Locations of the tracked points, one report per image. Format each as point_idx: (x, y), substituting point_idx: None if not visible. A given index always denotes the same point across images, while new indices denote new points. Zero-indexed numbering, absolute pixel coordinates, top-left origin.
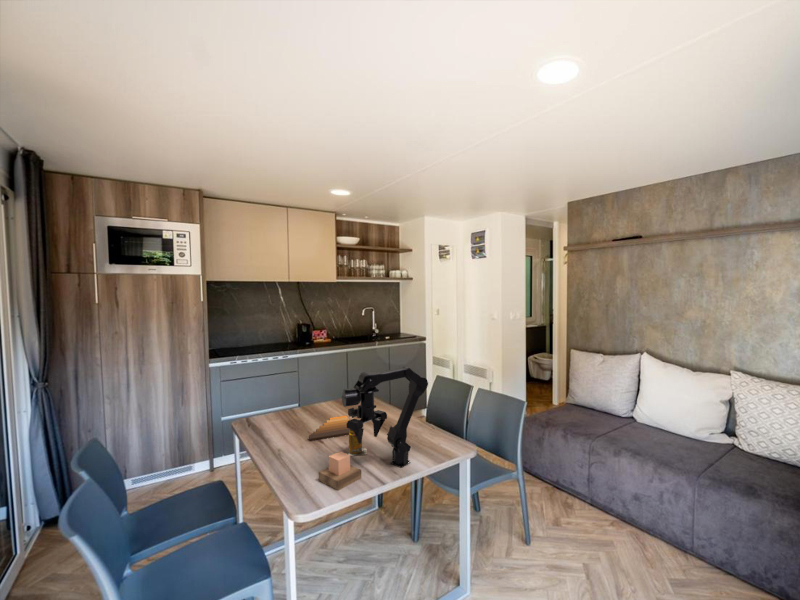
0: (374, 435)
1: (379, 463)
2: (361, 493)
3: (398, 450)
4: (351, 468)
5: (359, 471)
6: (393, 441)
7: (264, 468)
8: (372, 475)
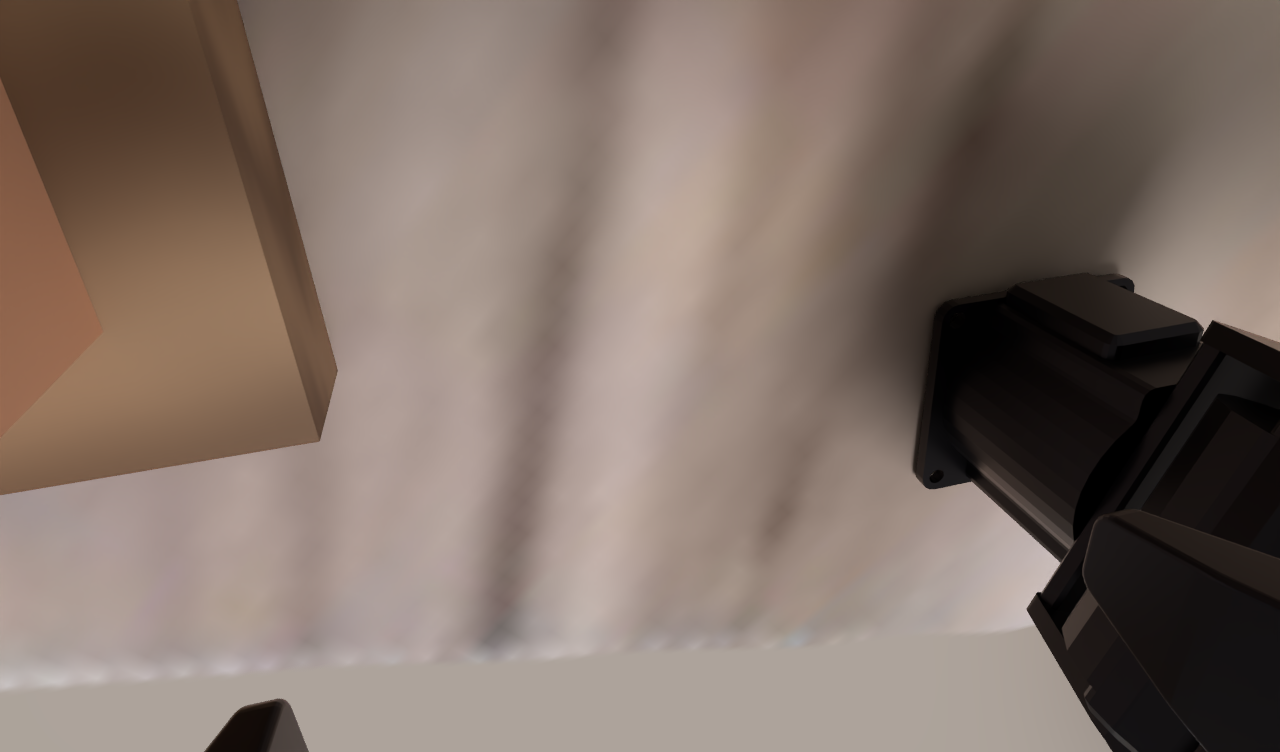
0: (1129, 549)
1: (854, 181)
2: (117, 673)
3: (1079, 573)
4: (163, 289)
5: (273, 438)
6: (1145, 736)
7: None
8: (521, 406)
